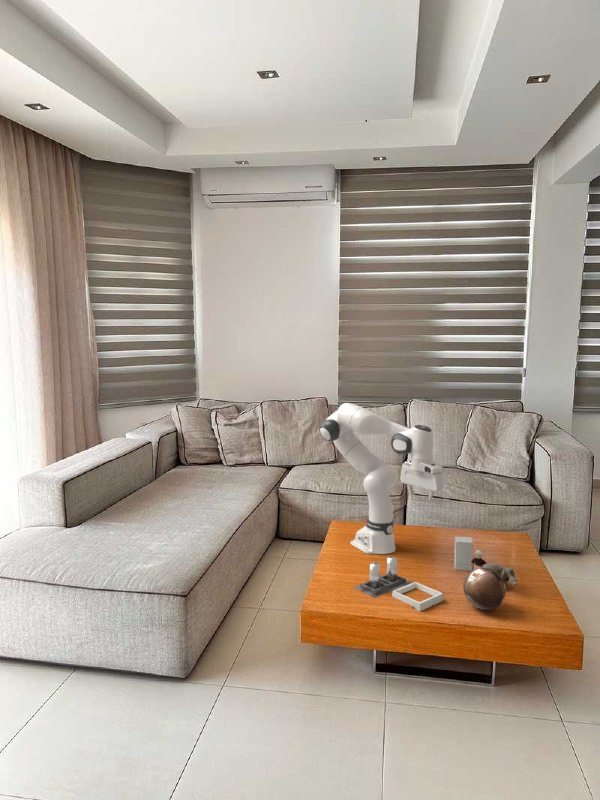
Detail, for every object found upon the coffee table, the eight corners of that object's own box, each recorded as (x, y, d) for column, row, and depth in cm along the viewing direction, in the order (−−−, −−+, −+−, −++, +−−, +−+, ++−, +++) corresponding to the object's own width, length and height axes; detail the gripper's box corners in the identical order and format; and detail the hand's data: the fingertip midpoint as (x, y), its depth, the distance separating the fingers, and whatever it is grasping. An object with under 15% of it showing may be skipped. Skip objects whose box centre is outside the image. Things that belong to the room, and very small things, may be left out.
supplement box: (472, 571, 257) (473, 542, 256) (454, 569, 259) (455, 541, 257) (471, 564, 265) (472, 537, 263) (454, 563, 266) (454, 535, 265)
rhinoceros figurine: (482, 570, 252) (501, 548, 243) (507, 596, 245) (527, 575, 237) (472, 577, 247) (491, 555, 238) (497, 604, 240) (517, 582, 232)
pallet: (353, 589, 240) (353, 583, 239) (390, 575, 253) (390, 569, 253) (374, 600, 230) (375, 594, 230) (412, 584, 244) (412, 578, 244)
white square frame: (392, 598, 232) (392, 591, 231) (415, 588, 240) (415, 581, 240) (419, 611, 221) (419, 603, 221) (442, 600, 230) (443, 593, 229)
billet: (384, 581, 245) (384, 557, 244) (391, 578, 248) (391, 555, 246) (391, 584, 242) (392, 560, 241) (398, 581, 244) (399, 558, 243)
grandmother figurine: (468, 580, 248) (469, 550, 247) (469, 576, 252) (470, 547, 250) (488, 582, 246) (489, 553, 244) (488, 579, 249) (489, 549, 248)
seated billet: (367, 588, 239) (367, 563, 238) (374, 585, 241) (374, 561, 240) (374, 591, 236) (375, 567, 235) (381, 588, 238) (382, 564, 237)
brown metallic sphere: (454, 606, 225) (455, 567, 224) (479, 595, 234) (480, 558, 233) (488, 621, 213) (490, 581, 212) (513, 609, 223) (514, 570, 221)
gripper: (397, 461, 253) (396, 493, 255) (436, 470, 237) (435, 504, 239) (407, 459, 257) (406, 491, 258) (446, 468, 241) (445, 501, 243)
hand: (420, 497), depth 248 cm, fingers open, 8 cm apart
